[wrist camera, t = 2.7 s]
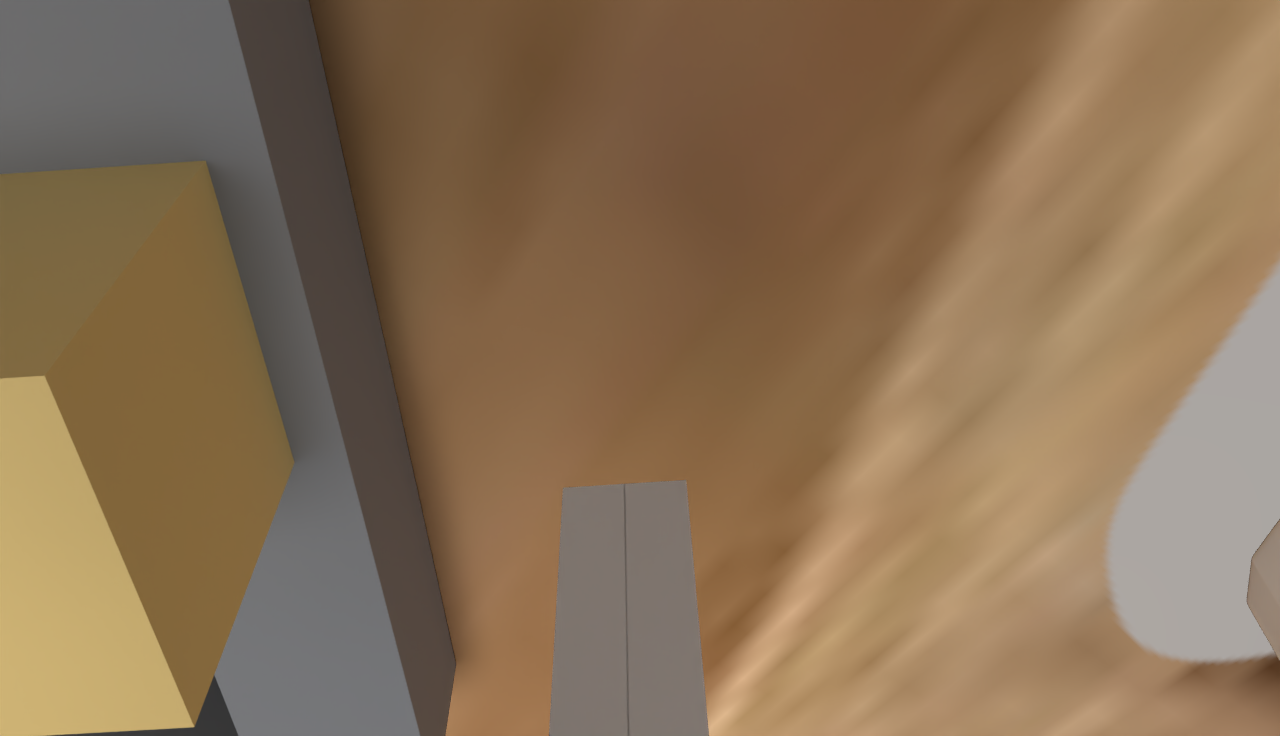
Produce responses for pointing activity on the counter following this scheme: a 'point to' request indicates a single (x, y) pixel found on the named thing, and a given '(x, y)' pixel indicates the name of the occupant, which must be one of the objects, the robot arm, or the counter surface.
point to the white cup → (1267, 587)
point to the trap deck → (265, 339)
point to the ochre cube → (125, 447)
